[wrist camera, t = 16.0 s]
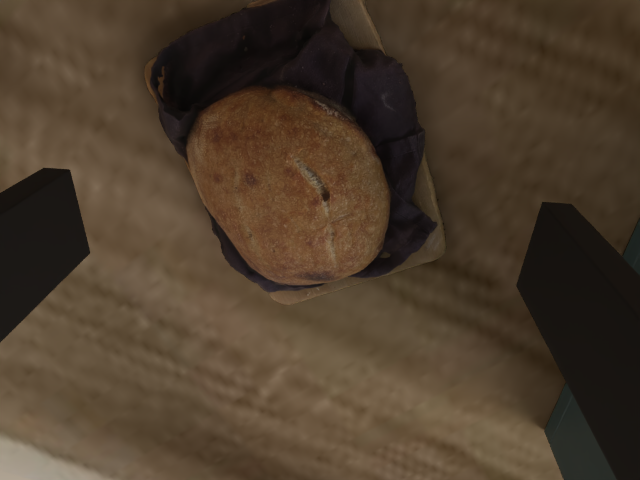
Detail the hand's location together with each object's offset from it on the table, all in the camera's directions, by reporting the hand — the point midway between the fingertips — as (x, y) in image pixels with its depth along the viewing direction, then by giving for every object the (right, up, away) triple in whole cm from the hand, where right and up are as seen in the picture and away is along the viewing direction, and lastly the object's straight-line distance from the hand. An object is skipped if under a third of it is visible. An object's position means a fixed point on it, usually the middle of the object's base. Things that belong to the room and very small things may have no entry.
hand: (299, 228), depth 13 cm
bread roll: (0, +2, +4) cm, 4 cm away
